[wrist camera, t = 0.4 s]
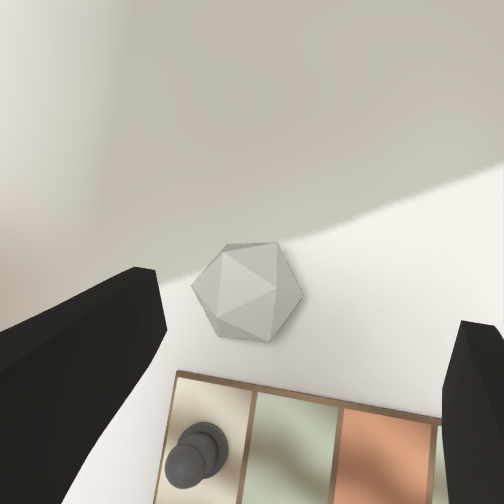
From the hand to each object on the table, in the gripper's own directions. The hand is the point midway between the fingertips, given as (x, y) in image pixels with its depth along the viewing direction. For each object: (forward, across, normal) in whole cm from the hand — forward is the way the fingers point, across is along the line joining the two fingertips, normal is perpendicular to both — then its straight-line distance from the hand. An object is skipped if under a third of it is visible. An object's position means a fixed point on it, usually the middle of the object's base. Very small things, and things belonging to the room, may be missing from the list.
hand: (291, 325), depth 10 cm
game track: (+14, 0, +28) cm, 31 cm away
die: (+22, +9, +18) cm, 30 cm away
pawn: (+12, +11, +27) cm, 32 cm away
